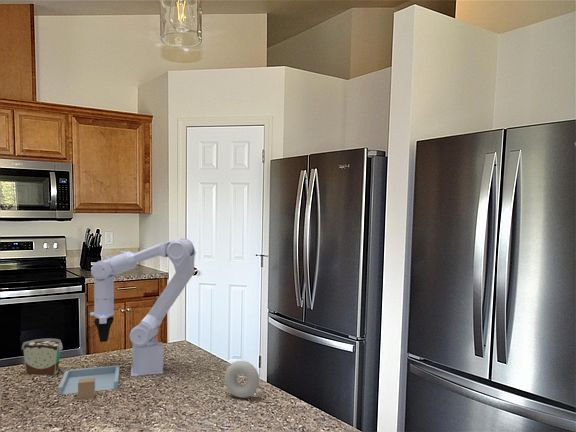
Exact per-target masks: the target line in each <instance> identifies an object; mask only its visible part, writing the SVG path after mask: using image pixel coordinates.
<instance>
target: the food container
mask: <svg viewBox="0 0 576 432" xmlns="http://www.w3.org/2000/svg"><path fill="white" fill-rule="evenodd" d="M63 349H64V347H63V343H62V341H61V339H58V338H39V339H32V340H28V341H24V342H23V343H22V345H21V350H23V359H24V369H25V375H37V376H38V375H43V376H56V375H57V374H58V373H59V365H60V356H61V355H60V354H61V351H62V350H63Z"/></svg>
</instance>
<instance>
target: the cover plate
mask: <svg viewBox="0 0 576 432" xmlns="http://www.w3.org/2000/svg"><path fill="white" fill-rule="evenodd" d="M95 396H96V391H95V378H85V379H79V382H78V393H77V399H78V400H83V399H84V400H85V399H91V398H95ZM104 409H105V410H106V409H107V407H103V408H101V410H104ZM94 410H95V411H97V410H99V408H95V409H93V411H94ZM86 411H87V412H88V411H90V409H86V410H84V412H86ZM79 412H82V410H80V411H79V410H78V411H76V413H79ZM69 413H71V414H72V413H73V411H70V412H67V414H69ZM62 414H65V412H61V413H59V415H62Z"/></svg>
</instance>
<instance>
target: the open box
mask: <svg viewBox="0 0 576 432" xmlns="http://www.w3.org/2000/svg"><path fill="white" fill-rule="evenodd" d="M120 373H121V372H120V365H118V364H117V365H109V366H108V365H107V366H105V365H104V366H97V367H85V368H84V367H83V368H75V369H74V368H73V369H66V370H65V371H64V373H63V376H62V379H61V380H60V381H59V384H58V387H57V394H58V396H60V395H61V396H62V395H70V394H71V395H72V394H78V382H79V379H85V378H95V392H99V391H105V390H106V391H107V390H117V389H118V388H119V382H120Z"/></svg>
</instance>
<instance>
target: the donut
mask: <svg viewBox="0 0 576 432" xmlns="http://www.w3.org/2000/svg"><path fill="white" fill-rule="evenodd" d="M240 374H243V375H244V376H245V377H246V383H245V384H241V383H240V382H239V381H238V379H237V377H238V375H240ZM224 383H225V384H224V385H225V386H226V389H227V390H228V392H229V393H230V394H232V395H233V396H235V397H237V398H239V399H242V398H244V399H246V398H249V397H250V396H253V395H254V394H255V393H256V391H257V390H258V388H259V385H260V375H259V372H258V371H257V368H256V367H255V366H254V365H253V363H250V362H249V361H246V360H236V361H234V362H231V364H230V365H228V367H227V368H226V370H225V373H224Z"/></svg>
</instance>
